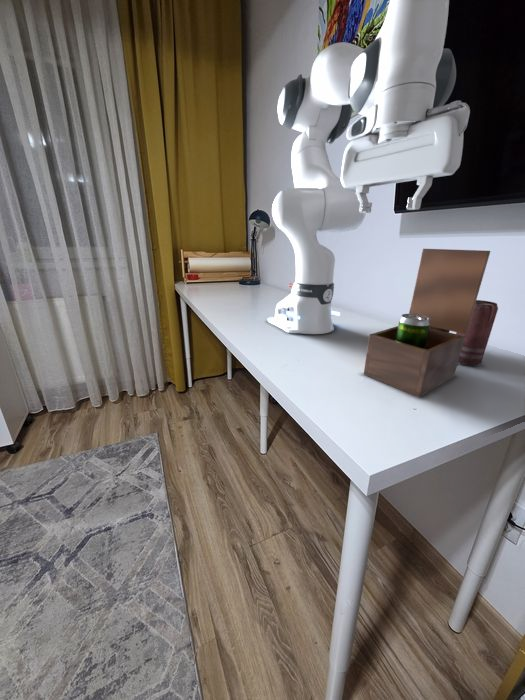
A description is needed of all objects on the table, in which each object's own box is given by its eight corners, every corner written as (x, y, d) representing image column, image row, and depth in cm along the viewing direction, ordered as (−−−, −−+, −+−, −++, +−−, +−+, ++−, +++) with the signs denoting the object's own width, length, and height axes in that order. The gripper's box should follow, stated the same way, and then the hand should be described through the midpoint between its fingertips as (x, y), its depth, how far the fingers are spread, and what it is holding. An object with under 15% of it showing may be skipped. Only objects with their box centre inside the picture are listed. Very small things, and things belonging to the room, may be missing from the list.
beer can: (424, 380, 56) (438, 320, 52) (397, 380, 56) (409, 320, 52) (409, 368, 61) (421, 313, 57) (384, 369, 61) (394, 313, 57)
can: (467, 368, 64) (485, 305, 59) (443, 357, 69) (458, 299, 64) (488, 365, 65) (508, 304, 60) (463, 355, 71) (479, 298, 66)
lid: (489, 250, 51) (498, 251, 54) (422, 248, 60) (433, 249, 63) (465, 334, 56) (474, 330, 59) (407, 321, 65) (418, 318, 68)
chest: (419, 397, 52) (430, 351, 48) (363, 374, 60) (369, 334, 57) (454, 376, 60) (465, 336, 57) (400, 358, 68) (407, 322, 65)
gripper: (481, 101, 42) (457, 208, 47) (360, 137, 57) (352, 215, 62) (464, 88, 38) (439, 205, 43) (339, 130, 53) (332, 213, 58)
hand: (387, 211), depth 53 cm, fingers open, 8 cm apart
